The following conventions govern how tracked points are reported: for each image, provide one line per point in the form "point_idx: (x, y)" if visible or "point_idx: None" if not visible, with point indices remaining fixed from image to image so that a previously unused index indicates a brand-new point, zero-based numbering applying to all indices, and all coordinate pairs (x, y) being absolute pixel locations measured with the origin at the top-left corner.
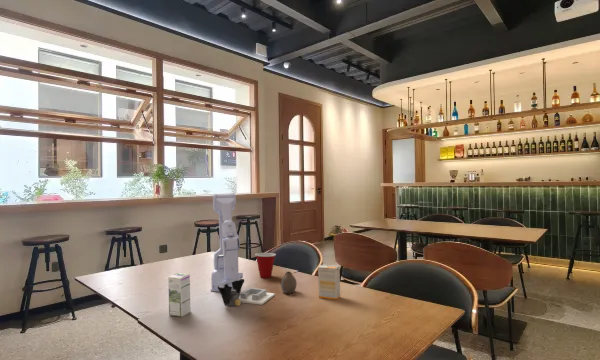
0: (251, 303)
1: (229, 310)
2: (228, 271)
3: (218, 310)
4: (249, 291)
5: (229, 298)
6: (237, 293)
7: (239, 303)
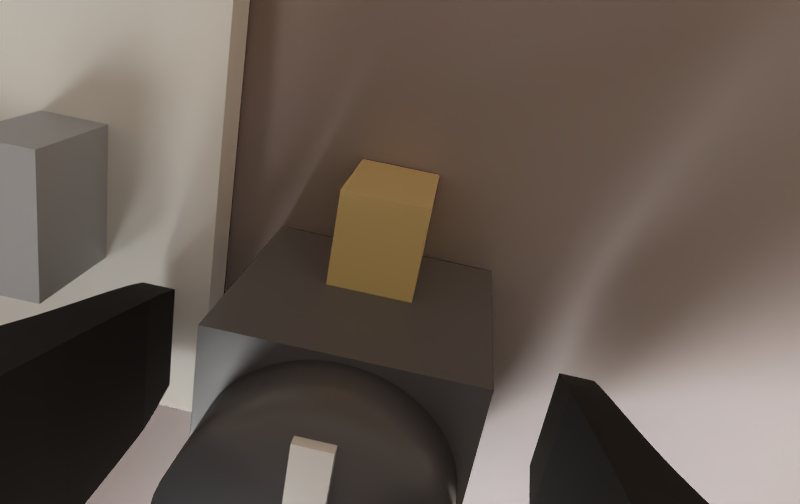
0: None
1: (732, 271)
2: None
3: (726, 466)
4: None
5: (608, 433)
6: (243, 340)
7: (395, 175)
